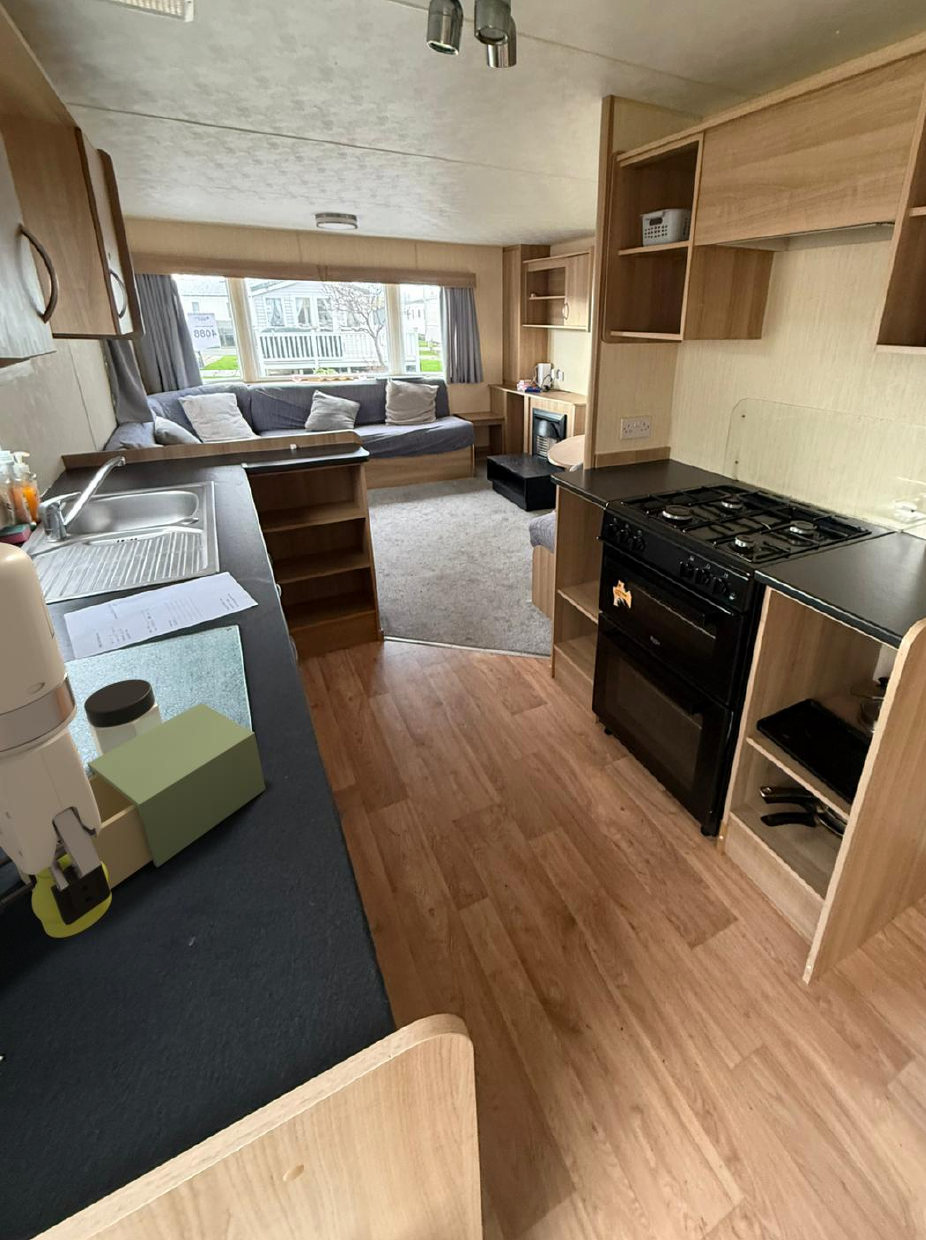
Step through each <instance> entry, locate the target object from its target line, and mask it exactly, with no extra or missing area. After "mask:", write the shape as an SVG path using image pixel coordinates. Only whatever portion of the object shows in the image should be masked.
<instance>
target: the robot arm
mask: <svg viewBox="0 0 926 1240" xmlns="http://www.w3.org/2000/svg"><path fill="white" fill-rule="evenodd" d="M52 621H53V620H52V618H51V614H50V611H49V607H48V605H47V602H46V598H45V595H44V592H43V589H42V585H41V581H40V578H39V576H38V572H37V569H36V565H35V563H34V561H33V559H32V558H31V556H30V555H29V554H28V553H27V552H26V551H25V550H24V549H22V548H21V547H19V546H16V545H13V544H10V543H6V542H0V848H1V849H2V850H3V852H4V853H6V855H7V856H9V857H10V858H11V859H12V860H13V861H12V862H13V863H14V864H15V866H16V865H17V866H18V867H19V868H20V869H21V870H22V871H23V872H24V873H26V874H28V876H29V878H30V881H31V884H32V885H33V886H34V888H35V886H36V884H37V882H38V881H37V879H36V876H35V875H37V874H39V873H41V871H43V870H44V869H46V868H48V870H49V872H50V874H51V876H52V879H53V881H54V883H55V885H53V886H52V887H50V888H51V891H52V894H53V896H54V899H55V902H56V904H57V907H58V910H59V912H60V915H61V918H62V921H63V922H64V923H65V924H66V925H70V924H72V923H74V922H75V921H77V920H78V919H79V918H81V917H82V916H84V915H85V914H86V913H88V912H89V911H91V910H92V909H94V908H95V907H96V906H98V905H99V904H101V903H102V902H103V901H105V900H106V899H107V898H108V897H109V896H110V894H112V891H111V889H110V888H109V885H108V882H107V879H106V876H105V873H104V870H103V867H102V864H101V860H100V859H99V857H98V854H97V852H96V850H95V847H94V845H93V843H92V840H91V838H90V836H91V837H95V838H97V837H98V835H99V834H100V832H101V829H102V824H101V818H100V814H99V810H98V807H97V803H96V800H95V797H94V794H93V791H92V788H91V785H90V783H89V780H88V778H89V776H88V774H87V771H86V769H85V766H84V763H83V761H82V758H81V756H80V753H79V748H78V747H77V746H76V743H75V741H74V737H73V736H72V734H71V731H70V729H69V725H70V724H71V723H72V722H73V721H74V719H75V718H76V716H77V713H78V704H77V702H76V697H75V693H74V691H73V687H72V684H71V681H70V678H69V674H68V670H67V668H66V665H65V661H64V659H63V655H62V651H61V648H60V645H59V641H58V638H57V634H56V632H55V629H54V624H53V622H52ZM57 843H60V844H59V845H57ZM56 845H57V846H56ZM66 854H68V856H69V858H70V860H71V862H72V864H71V865H69V866H68V867H66V868H65V869H64V871H63V870H62V868H61V866H60V864H59V861H58V859H60V858H61V857H63V856H65V855H66ZM110 891H111V892H110Z"/></svg>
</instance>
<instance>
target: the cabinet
mask: <svg viewBox="0 0 926 1240" xmlns="http://www.w3.org/2000/svg"><path fill="white" fill-rule="evenodd" d="M260 758H261V757H260V753H259V748H258V743H257V738H256V733H255V732H254V731H252V730H250V729H249V728H247V727H245V726H243V725H242V724H240V723H238V722H236V721H235V720H233V719H231V718H229V717H228V716H226V715H225V714H222V713H221V712H219V711H217V710H216V709H214V708H212V707H210V706H208V705H207V704H205V703H203V702H200V703H198V704H195V705H193V706H192V707H190V708H188V709H187V710H184V711H183V712H181V713H178V714H177V715H175V716H174V717H171V718H169V719H168V720H166V721H164V722H163V723H162V724H160V725H158V726H156V727H155V728H153V729H151V730H149V731H147V732H145V733H143V734H141V735H139V736H138V737H136V738H134V739H132V740H130V741H128V742H126V743H124V744H123V745H121V746H119V747H117V748H115V749H113V750H111V751H109V752H108V753H106V754H104V755H102V756H100V757H99V756H98V757H96V758H94V759H92V760H91V761H89V762H87V766H88V770H89V773H90V776H92V775H94V774H97V775H98V776H99V777H101V778H102V779H103V780H104V781H106V782H107V783H108V784H109V785H111V786H112V787H113V788H114V789H116V790H117V791H118V792H119V793H121V794H122V795H123V796H124V797H125V798H127V799H128V800H129V801H130V802H132V803H133V804H134V805H135V806H137V808H138V812H139V815H140V818H141V822H142V825H143V829H144V832H145V835H146V839H147V842H148V846H149V849H150V852H151V856H152V862H153V865H154V866H155V867H156V868H159V867H160V866H161V865H163V864H164V863H165V862H167V861H168V860H170V859H172V858H173V857H174V856H175V855H177V854H179V852H181V851H182V850H183V849H185V848H186V847H188V846H189V845H191V844H193V842H194V841H196V840H197V839H199V838H201V837H203V835H204V834H206V833H207V832H209V831H210V830H212V829H213V828H214V827H215V826H217V825H218V824H220V823H221V822H223V821H224V820H226V819H227V818H228V817H230V816H231V815H232V814H234V813H235V812H236V811H238V810H239V809H240V808H242V807H243V806H244V805H246V804H247V803H249V802H250V801H251V800H253V799H255V798H256V797H257V796H258V795H260V794H261V793H262V792H264V791H266V784H265V780H264V774H263V769H262V763H261V759H260Z"/></svg>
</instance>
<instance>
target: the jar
mask: <svg viewBox="0 0 926 1240" xmlns="http://www.w3.org/2000/svg"><path fill="white" fill-rule="evenodd" d="M156 701H157V700H156V698H155V694H154V690H153V687H152V684H151V683H150V682H149V681H147V680H145V679H139V678H138V679H137V678H135V679H124V680H120V681H117V682H113V683H110V684H108V685H106V686H103V687H101V688H100V689H98V690H96V691H94V692H93V693H91V694H90V695H89V696H88V697H87V698H86V700H85V702H84V705H83V708H84V711H85V715H86V720H87V723H88V726H89V729H90V730H89V731H90V732H91V736H92V739H93V742H94V745H95V749H96V752H97V756H98V757H100V756H102V755H104V754H106V753H108V752H109V751H111V750H113V749H115V748H117V747H119V746H121V745H123V744H124V743H126V742H128V741H130V740H132V739H134V738H136V737H138V736H139V735H141V734H143V733H145V732H147V731H149V730H151V729H153V728H155V727H156V726H158V725H160V724H162V723H164V722H163V719H162V714H161V711H160V707H159V704H158V702H156Z"/></svg>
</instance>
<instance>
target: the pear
mask: <svg viewBox="0 0 926 1240" xmlns="http://www.w3.org/2000/svg"><path fill="white" fill-rule="evenodd" d="M59 844H60V843H57V845H59ZM57 845H56V846H57ZM58 861H59V864H60V866H61V868H62V870H63V871H64V869H65V868H66V867H68V866H69V865H71V864H72V862H71V860H70V858H69V856H68V854H66V855H65V856H63V857H61V858H60V859H58ZM101 864H102V867H103V870H104V873H105V876H106V879H107V882H108V872H107V869H106V866H105V865H104V864H103V862H102V861H101ZM35 876H36V879H37V881H38V882H37V884H36V886H35V888H34V891H32V894H31V908H32V911H33V913H34V914H35V916H36V917H37V918H38V919H39V920H40V922H41V924H42V926H43V930H44V932H45V933H46V935H48V936H50V937H52V938H67V937H71V936H73V935H77V934H78V933H81V932H83V931H84V930H87V929H88V928H89V927H91V926H92V925H93V924H95V923H96V922H97V921H99V920H100V919H101V918H102V917H103V916H104V914H105V913H106V912H107V910H108V909H109V907H110V905H111V903H112V897H113V896H112V895H113V894H112V891H111V890H110V892H111V894H110V896H109V897H108V898H107V899H106V900H105V901H103V902H102V903H101V904H99V905H98V906H96V907H95V908H94V909H92V910H91V911H89V912H88V913H86V914H85V915H84V916H82V917H81V918H79V919H78V920H77V921H75V922H74V923H72V924H70V925H66V924H65V923H64V922H63V921H62V918H61V915H60V912H59V910H58V907H57V904H56V902H55V899H54V896H53V894H52V891H51V888H50V887H52V886H53V885H55V883H54V881H53V879H52V876H51V874H50V872H49V870H48V868H46V869H44V870H43V871H41V873H39V874H37V875H35Z"/></svg>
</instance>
